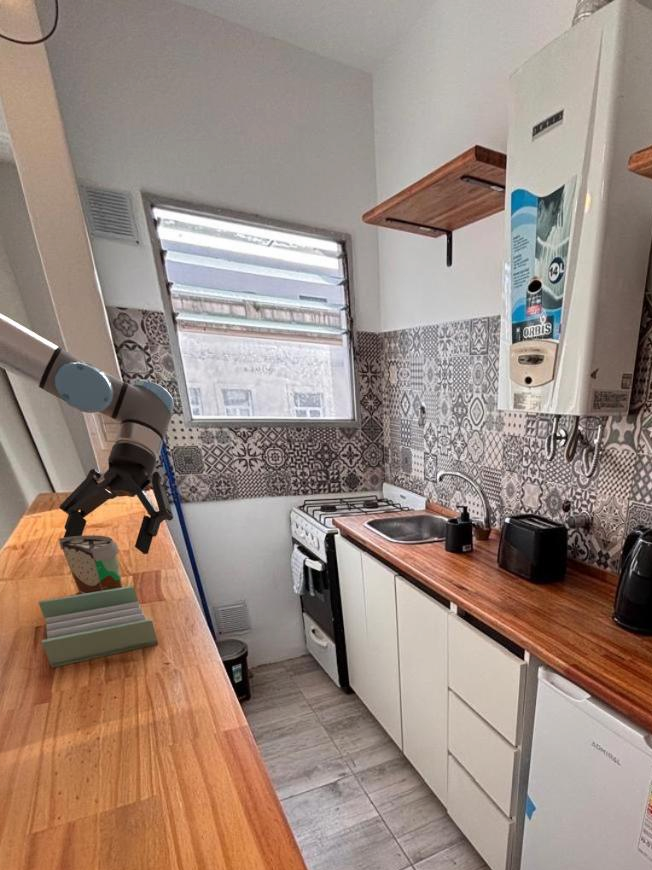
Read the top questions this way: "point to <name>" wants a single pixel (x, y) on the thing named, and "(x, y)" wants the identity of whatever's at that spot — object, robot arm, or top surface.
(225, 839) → the top surface
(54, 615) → the dish rack
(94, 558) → the food container
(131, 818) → the top surface
